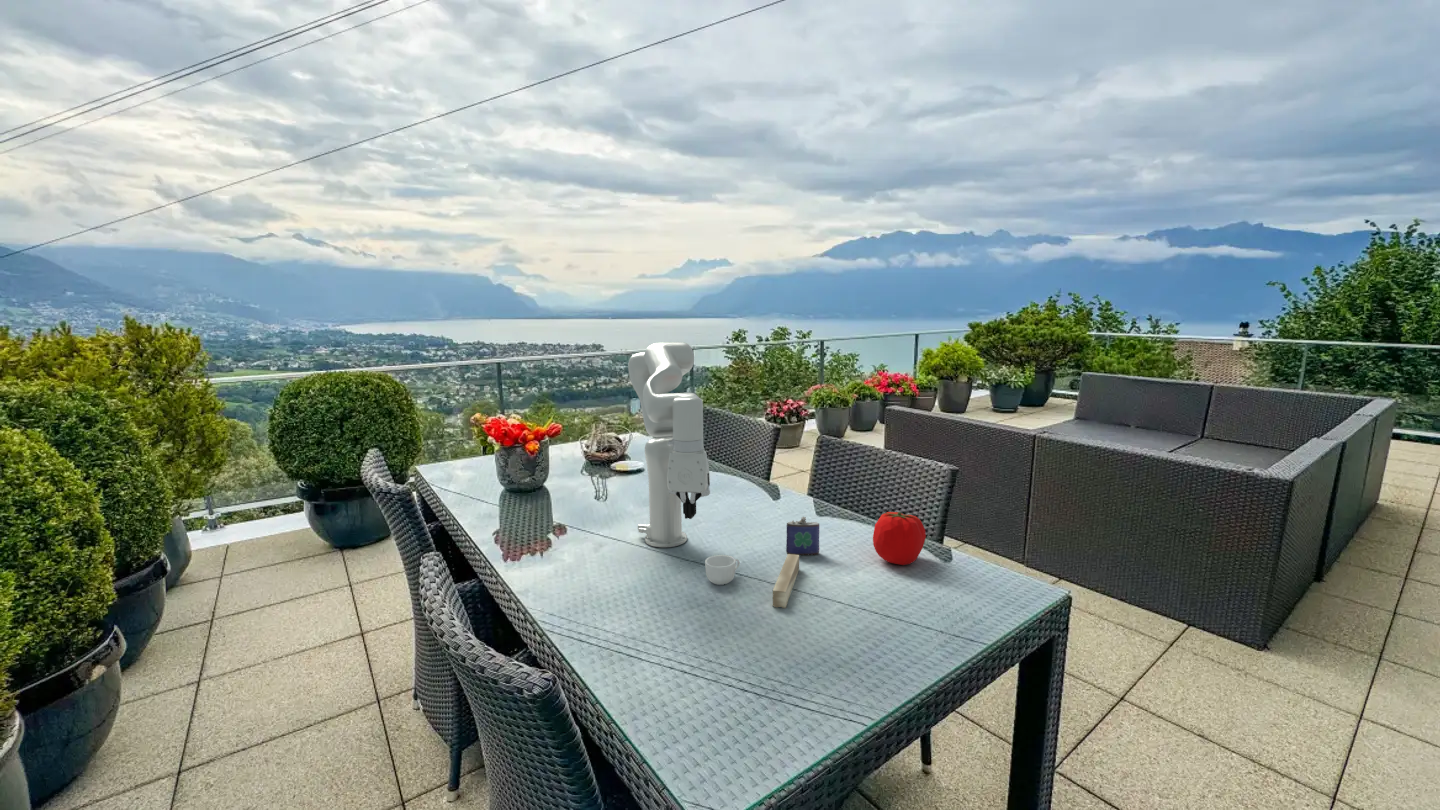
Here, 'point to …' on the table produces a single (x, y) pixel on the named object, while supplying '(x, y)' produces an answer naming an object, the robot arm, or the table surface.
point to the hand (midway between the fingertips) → (689, 517)
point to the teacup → (721, 568)
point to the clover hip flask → (802, 537)
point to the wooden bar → (785, 581)
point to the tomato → (898, 537)
